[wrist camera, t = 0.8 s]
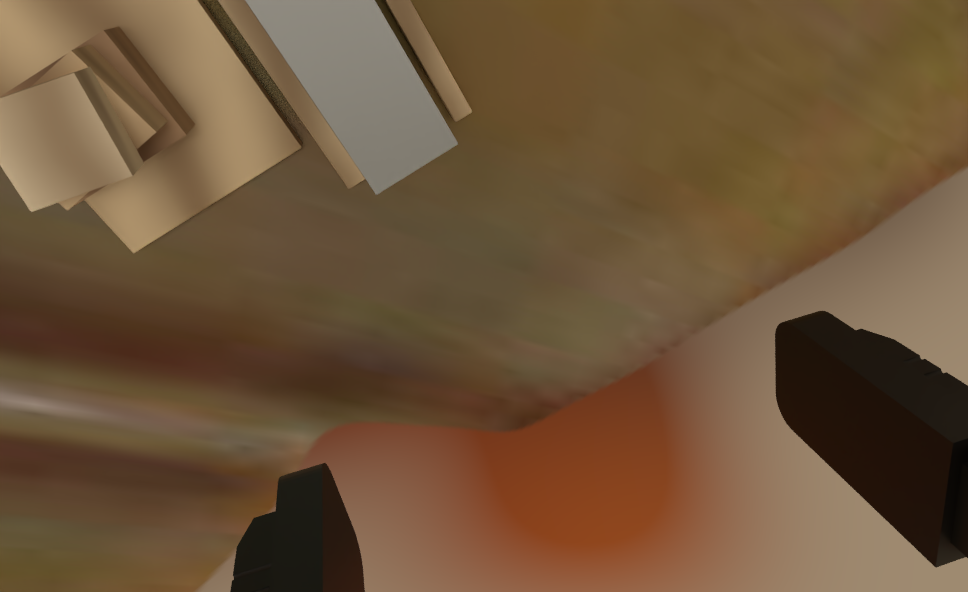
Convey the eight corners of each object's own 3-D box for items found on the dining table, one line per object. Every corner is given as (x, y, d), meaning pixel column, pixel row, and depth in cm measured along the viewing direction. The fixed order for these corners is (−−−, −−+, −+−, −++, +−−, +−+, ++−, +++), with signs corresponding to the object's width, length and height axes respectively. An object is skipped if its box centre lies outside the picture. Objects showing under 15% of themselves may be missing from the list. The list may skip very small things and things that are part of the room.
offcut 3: (85, 193, 30) (67, 210, 28) (3, 123, 29) (-23, 135, 26) (168, 120, 30) (156, 132, 28) (90, 44, 28) (70, 50, 26)
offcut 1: (49, 197, 28) (31, 212, 26) (-12, 101, 26) (-36, 111, 24) (144, 163, 28) (132, 175, 26) (90, 66, 26) (73, 72, 24)
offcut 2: (90, 191, 33) (73, 206, 31) (6, 98, 30) (-18, 108, 28) (195, 124, 33) (186, 134, 30) (119, 26, 30) (103, 30, 28)
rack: (178, 288, 37) (164, 321, 33) (-139, -61, 28) (-205, -67, 25) (479, 100, 36) (497, 113, 33) (251, -318, 27) (242, -362, 24)
